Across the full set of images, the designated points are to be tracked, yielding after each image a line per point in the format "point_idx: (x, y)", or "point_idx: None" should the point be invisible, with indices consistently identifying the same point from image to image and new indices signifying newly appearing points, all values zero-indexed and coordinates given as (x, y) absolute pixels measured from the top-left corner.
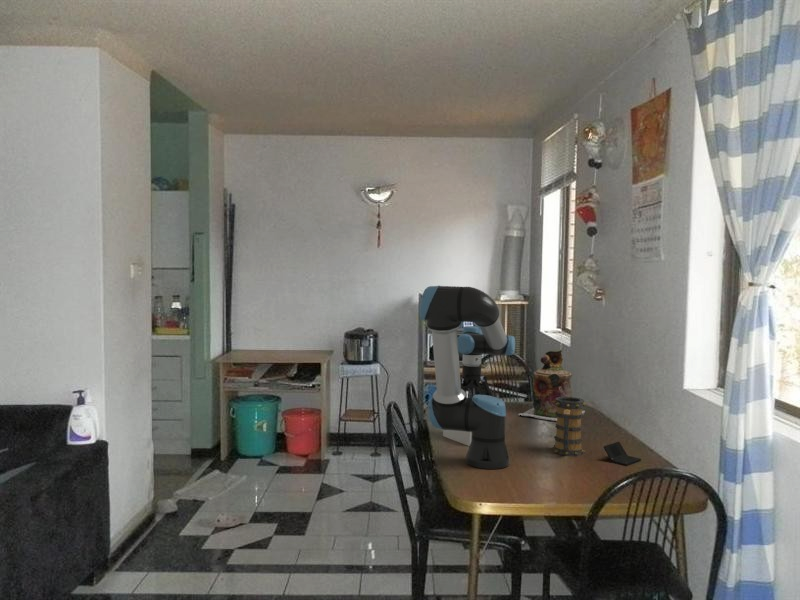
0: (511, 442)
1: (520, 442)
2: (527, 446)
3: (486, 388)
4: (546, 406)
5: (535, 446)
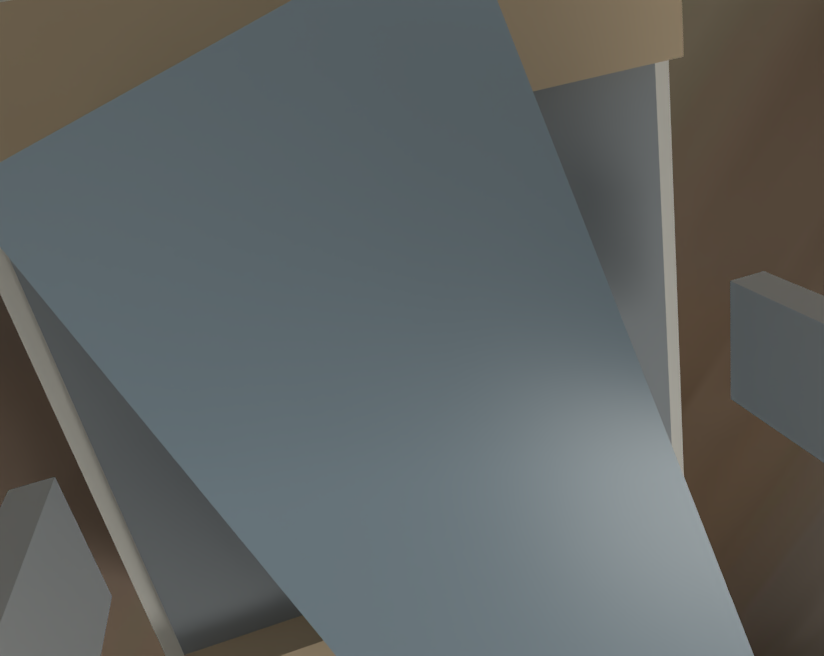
0: (705, 484)
1: (776, 492)
2: (740, 611)
3: None
4: None
5: (795, 614)
